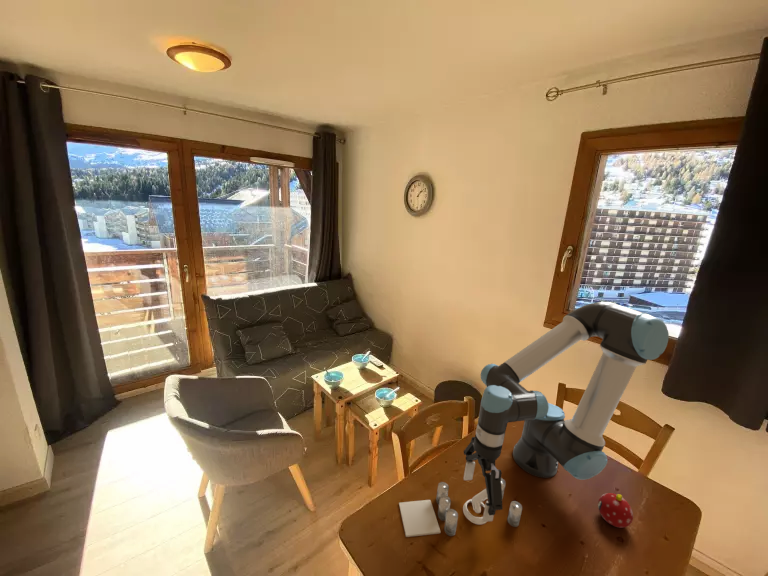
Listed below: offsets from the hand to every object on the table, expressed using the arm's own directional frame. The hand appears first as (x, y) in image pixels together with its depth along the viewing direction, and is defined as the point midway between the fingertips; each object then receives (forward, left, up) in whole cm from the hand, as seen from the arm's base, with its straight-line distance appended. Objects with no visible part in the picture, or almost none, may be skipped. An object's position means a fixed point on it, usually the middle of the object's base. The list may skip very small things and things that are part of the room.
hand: (476, 498), depth 95 cm
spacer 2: (+10, 0, -6) cm, 11 cm away
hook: (0, 0, -6) cm, 6 cm away
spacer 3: (+10, +4, -6) cm, 12 cm away
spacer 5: (-10, +4, -6) cm, 12 cm away
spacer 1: (+9, -5, -6) cm, 12 cm away
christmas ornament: (-41, +7, -6) cm, 42 cm away
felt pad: (+18, 0, -6) cm, 18 cm away
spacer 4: (-10, -5, -6) cm, 12 cm away
